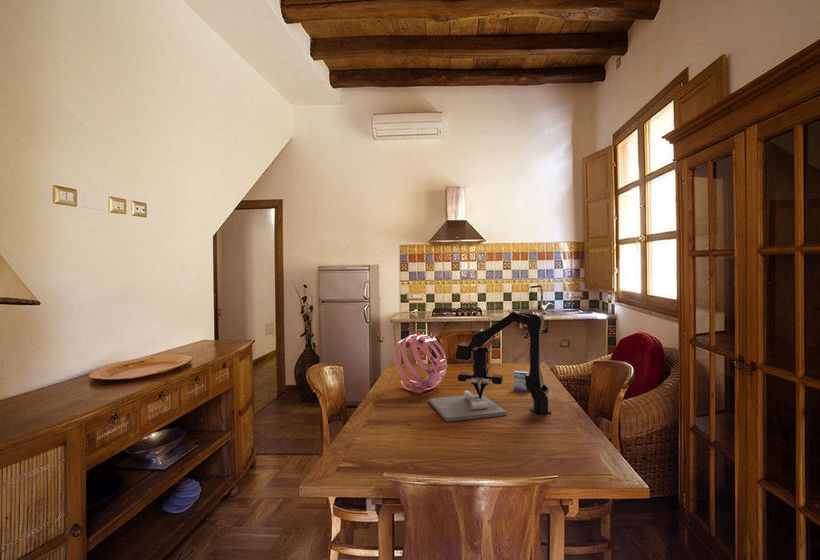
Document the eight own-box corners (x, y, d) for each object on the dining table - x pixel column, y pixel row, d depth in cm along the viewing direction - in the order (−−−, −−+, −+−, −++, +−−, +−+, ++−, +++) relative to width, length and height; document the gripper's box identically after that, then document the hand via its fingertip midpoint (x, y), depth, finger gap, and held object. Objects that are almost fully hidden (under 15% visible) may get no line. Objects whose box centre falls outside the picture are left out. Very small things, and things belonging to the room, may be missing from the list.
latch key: (488, 408, 173) (488, 400, 173) (472, 409, 171) (472, 402, 171) (473, 396, 188) (473, 389, 188) (458, 398, 187) (458, 391, 187)
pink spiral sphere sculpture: (372, 348, 214) (408, 320, 200) (411, 353, 233) (446, 328, 219) (387, 401, 199) (426, 375, 185) (427, 401, 218) (465, 378, 204)
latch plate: (506, 415, 169) (506, 411, 169) (446, 421, 164) (446, 417, 164) (481, 396, 194) (481, 393, 194) (428, 402, 188) (428, 398, 188)
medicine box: (513, 390, 204) (513, 372, 203) (515, 387, 208) (515, 369, 207) (530, 391, 200) (529, 373, 200) (532, 389, 204) (531, 371, 204)
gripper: (504, 359, 188) (505, 394, 188) (463, 356, 194) (463, 390, 195) (500, 364, 178) (501, 401, 178) (457, 362, 184) (457, 397, 185)
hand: (480, 397), depth 184 cm, fingers closed
